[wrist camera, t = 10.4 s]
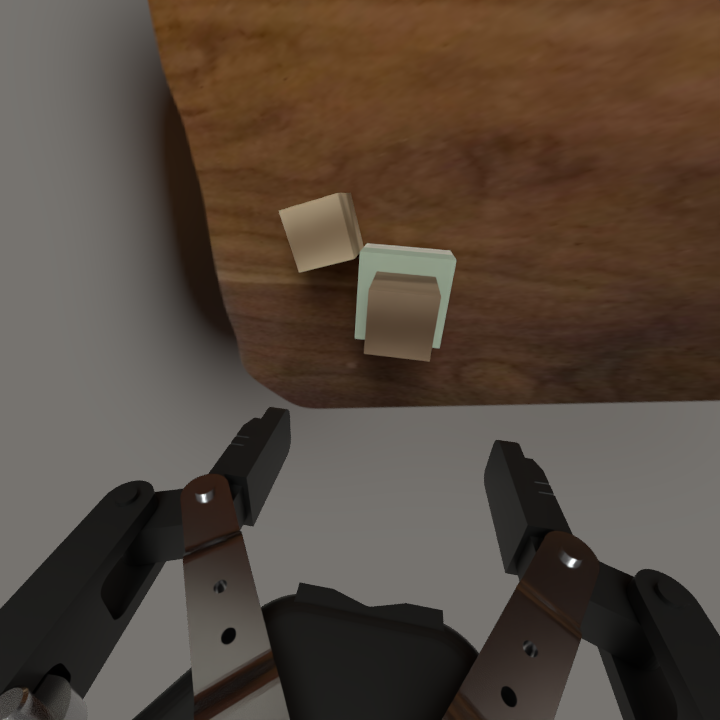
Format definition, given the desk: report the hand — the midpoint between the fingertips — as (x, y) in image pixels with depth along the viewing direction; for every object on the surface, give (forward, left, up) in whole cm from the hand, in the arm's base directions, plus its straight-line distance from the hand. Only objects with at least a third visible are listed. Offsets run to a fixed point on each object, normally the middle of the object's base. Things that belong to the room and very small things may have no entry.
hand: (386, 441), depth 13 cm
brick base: (0, 0, -23) cm, 23 cm away
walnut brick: (0, 0, -18) cm, 18 cm away
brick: (-5, -7, -24) cm, 25 cm away
